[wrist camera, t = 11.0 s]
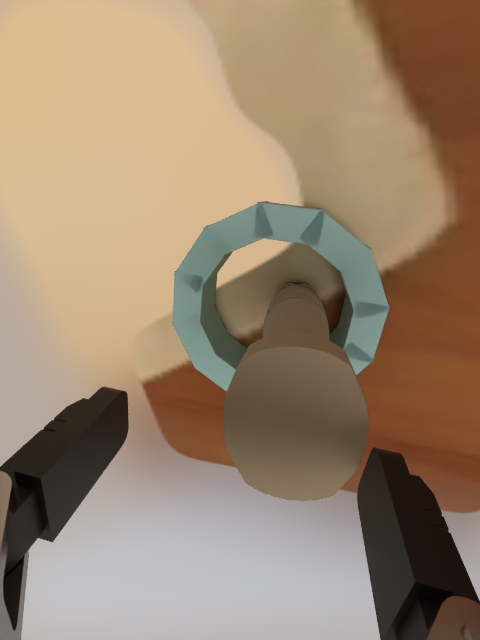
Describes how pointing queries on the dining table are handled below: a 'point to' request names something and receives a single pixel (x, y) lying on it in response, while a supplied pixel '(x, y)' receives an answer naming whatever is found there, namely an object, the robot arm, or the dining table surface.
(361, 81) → the dining table surface
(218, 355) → the notched ring
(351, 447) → the handle
